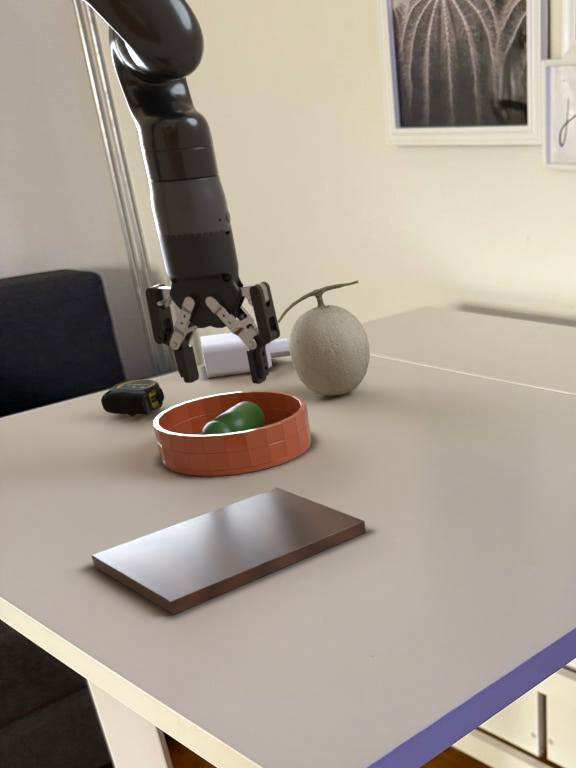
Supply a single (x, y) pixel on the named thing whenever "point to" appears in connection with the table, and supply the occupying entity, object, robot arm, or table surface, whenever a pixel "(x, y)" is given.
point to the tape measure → (133, 398)
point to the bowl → (232, 434)
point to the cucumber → (236, 419)
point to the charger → (235, 354)
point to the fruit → (328, 346)
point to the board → (226, 548)
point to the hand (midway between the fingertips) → (225, 381)
